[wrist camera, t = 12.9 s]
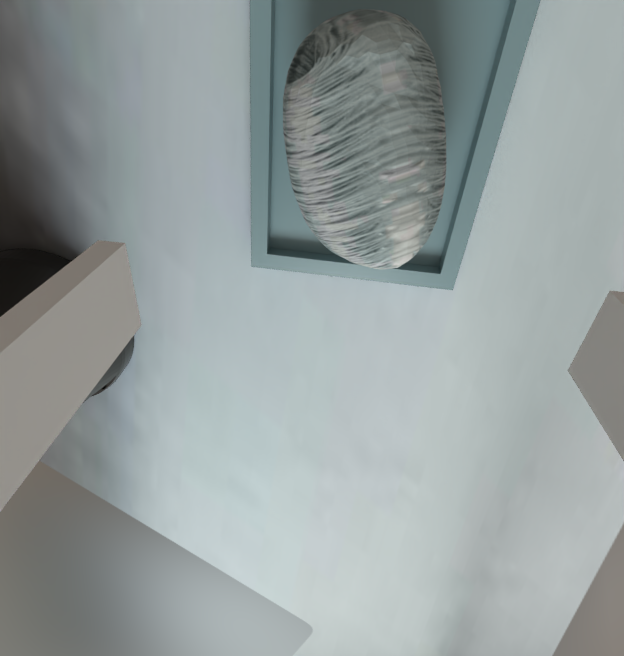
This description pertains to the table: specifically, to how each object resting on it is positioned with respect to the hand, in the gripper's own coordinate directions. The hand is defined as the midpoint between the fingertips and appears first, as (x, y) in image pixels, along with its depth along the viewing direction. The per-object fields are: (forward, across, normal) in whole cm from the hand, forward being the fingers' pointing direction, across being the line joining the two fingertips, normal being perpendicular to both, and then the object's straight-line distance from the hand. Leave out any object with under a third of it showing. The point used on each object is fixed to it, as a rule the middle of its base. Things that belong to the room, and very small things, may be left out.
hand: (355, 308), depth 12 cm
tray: (+21, +1, +1) cm, 21 cm away
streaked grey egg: (+20, 0, +1) cm, 20 cm away
